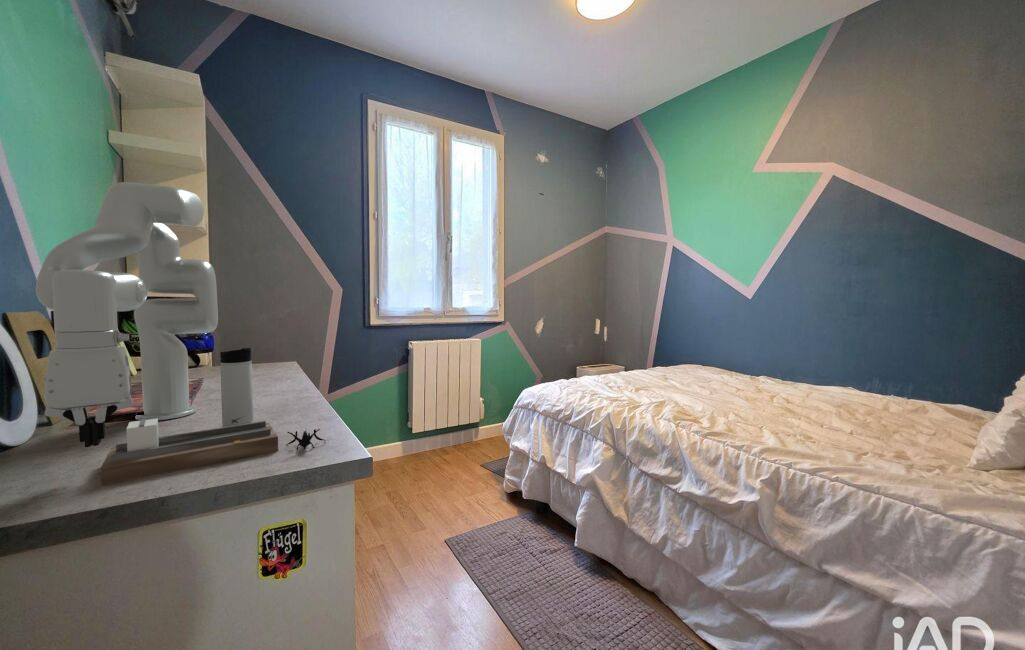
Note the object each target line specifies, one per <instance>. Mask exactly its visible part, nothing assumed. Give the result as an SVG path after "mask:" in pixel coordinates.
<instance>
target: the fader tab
mask: <svg viewBox="0 0 1025 650" xmlns="http://www.w3.org/2000/svg"><path fill="white" fill-rule="evenodd" d="M159 433H160V432H159V420H158V418H157V419H149V420H146V419H142V420H141V421H140V420H135V421H129V422H128V425H127V427H126V442H127V452H130V451H136V450H142V449H148V448H154V447H158V446H159V437H160V436H159Z"/></svg>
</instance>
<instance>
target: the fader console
mask: <svg viewBox="0 0 1025 650" xmlns="http://www.w3.org/2000/svg"><path fill="white" fill-rule="evenodd" d="M277 451H278V452H279V436H278V434H277V433H276V432H275V430H274V429H273V427H272V426H271V424H270V422H266V420H261V421H256V422H255V421H253V423H248V424H241V425H235V426H228V427H217V428H210V429H204V430H197V431H191V432H184V433H177V434H171V435H164V436H159V446H158V447H154V448H148V449H142V450H136V451H130V452H127V441H126V442H119V443H116V444H115V447H110V449H109V451H108V453H107V454H106V455H107V456H106V457H105V459H104V461H103V463H102V465H101V467H100V482H101V486H108V485H113V484H119V483H123V482H128V481H133V480H137V479H142V478H146V477H153V476H158V475H162V474H167V473H172V472H177V471H183V470H188V469H193V468H198V467H203V466H208V465H212V464H218V463H222V462H223V463H224V462H227V461H233V460H238V459H243V458H248V457H253V456H254V457H255V456H257V455H263V454H268V453H273V452H277Z"/></svg>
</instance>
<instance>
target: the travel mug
mask: <svg viewBox="0 0 1025 650" xmlns="http://www.w3.org/2000/svg"><path fill="white" fill-rule="evenodd" d="M219 356H220V357H219V358H220V362H219V364H220V394H221V396H220V397H221V400H220V401H221V423H222V425H221V426H222V427H228V426H235V425H241V424H248V423H254V396H253V392H254V391H253V365H252V362H253V361H252V348H251V347H242V348H240V349H233V350H227V351H220V353H219ZM222 427H221V428H222Z"/></svg>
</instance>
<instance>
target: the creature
mask: <svg viewBox="0 0 1025 650" xmlns="http://www.w3.org/2000/svg"><path fill="white" fill-rule="evenodd" d="M320 430H321V429H320V428H318V429H317V430H316V429H315V428H314V430H313V433H312V434H310V432H307V430H304V431H303V432H302V436H301V438H299V437H298V430H296V431H295V432H294V433H295V434H294V433H292V432H290V431H287V434H290V435H291V436H292V437H294V438H293V439H292V440H291V441H289V442H287V443H286V444H285V447H286V446H287V447H289V445H291V444H293V443H296V441H297V442H298V445H296V446H295V448H296V451H298V450H299V447H298V446H300V447H302V448H304V450H306V448H307V447H308V446H309V445H311V447H312V449H314V448H315V447H316V445H317V444H315V445H313V444H314V443H312V442H311V440H312V438H313V437H314V438H315V439H316V440H318V441H324V442H325V441H326V442H327V440H326V439H324V438H320V437H319V436H318V435H317V432H318V431H320ZM314 446H315V447H314Z"/></svg>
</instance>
